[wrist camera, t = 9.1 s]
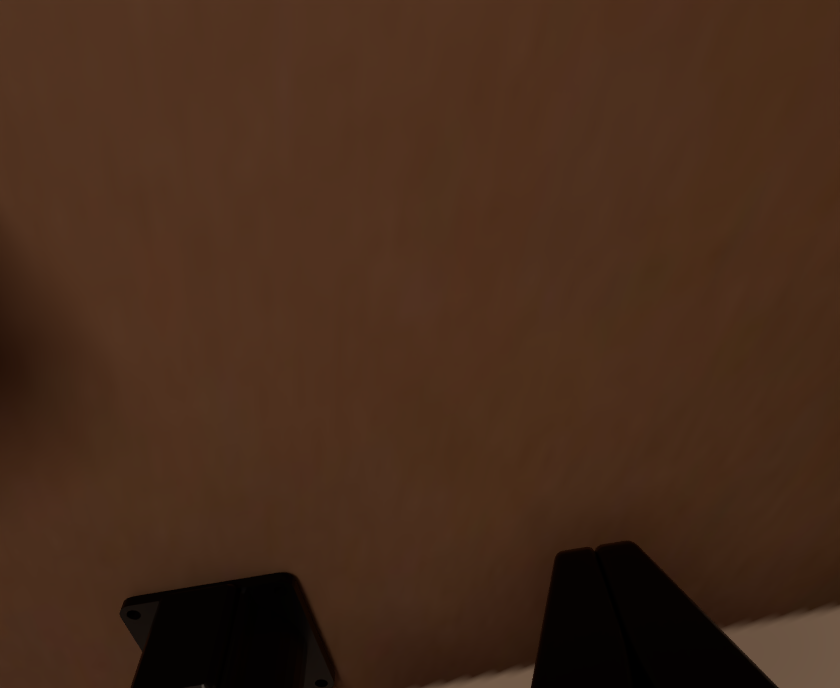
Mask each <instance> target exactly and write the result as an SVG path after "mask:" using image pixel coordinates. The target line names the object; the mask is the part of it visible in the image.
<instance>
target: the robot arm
mask: <svg viewBox="0 0 840 688" xmlns="http://www.w3.org/2000/svg"><path fill="white" fill-rule="evenodd" d="M279 586H283V587H279ZM120 617H121V618H122V620H123V622H124V623H125V625H126V626H127V628H128V630H129V631H130V633H131V634H132V636H133V638H134V639H135V641H136V642H137V644H138V645H139V647H140V649H141V650H142V655H141V658H140V661H139V664H138V667H137V670H136V673H135V676H134V679H133V682H132V685H131V688H332V687H333V685H334V678H335V673H334V670H333V668H332V665H331V663H330V661H329V658H328V656H327V654H326V651H325V649H324V646H323V644H322V642H321V639H320V637H319V635H318V632H317V630H316V628H315V625H314V623H313V620H312V618H311V616H310V613H309V611H308V609H307V606H306V604H305V601H304V599H303V597H302V594H301V592H300V590H299V587H298V585H297V582H296V580H295V579H294V577H293V576H291V575H289V574H286V573H274V574H268V575H262V576H256V577H250V578H244V579H238V580H232V581H226V582H220V583H214V584H207V585H201V586H195V587H189V588H183V589H177V590H171V591H165V592H159V593H153V594H147V595H140V596H134V597H130V598H127V599H126V600H125V601H124V603H123V605H122V608H121V610H120ZM531 688H778V687H777V686H776V685H775V684H774V683H773V682H772V681H771V680H770V679H769V678H768V677H767V676H766V675H765V674H764V673H763V672H762V671H761V670H760V669H759V668H758V666H756V664H755V663H754V662H752V660H751V659H749V657H748V656H747V655H745V653H743V651H742V650H741V649H740V648H739V647H738V646H737V645H736V644H735V643H734V642H733V641H732V640H731V639H730V638H729V637H728V636H727V635H726V634H725V633H724V632H723V631H722V630H721V629H720V628H719V627H718V626H717V625H716V624H715V623H714V622H713V621H712V620H711V619H710V618H709V617H708V616H707V615H706V614H705V613H704V612H703V611H702V610H701V609H700V608H699V607H698V606H697V605H696V604H695V603H694V602H693V601H692V600H691V599H690V598H689V597H688V596H687V595H686V594H685V593H684V592H683V591H682V590H681V589H680V588H679V587H678V586H677V585H676V584H675V583H674V582H673V581H672V580H671V579H670V578H669V577H668V576H667V574H666V573H665V572H664V571H663V570H662V569H661V568H660V567H659V566H658V565H657V564H656V563H655V562H654V561H653V560H652V559H651V558H650V557H649V556H648V555H647V554H646V553H645V552H644V551H643V550H642V549H641V548H640V547H639V546H638V545H636V544H635V543H634V542H631V541H621V542H615V543H609V544H602V545H599V546H598V547H597V548H596V550H595V551H594V550H593V549H592V548H590V547H584V548H577V549H571V550H565V551H560V552H559V553H557V555H556V557H555V560H554V565H553V571H552V576H551V582H550V587H549V593H548V598H547V603H546V609H545V614H544V620H543V625H542V631H541V636H540V641H539V647H538V652H537V658H536V663H535V669H534V674H533V679H532V685H531Z"/></svg>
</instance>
